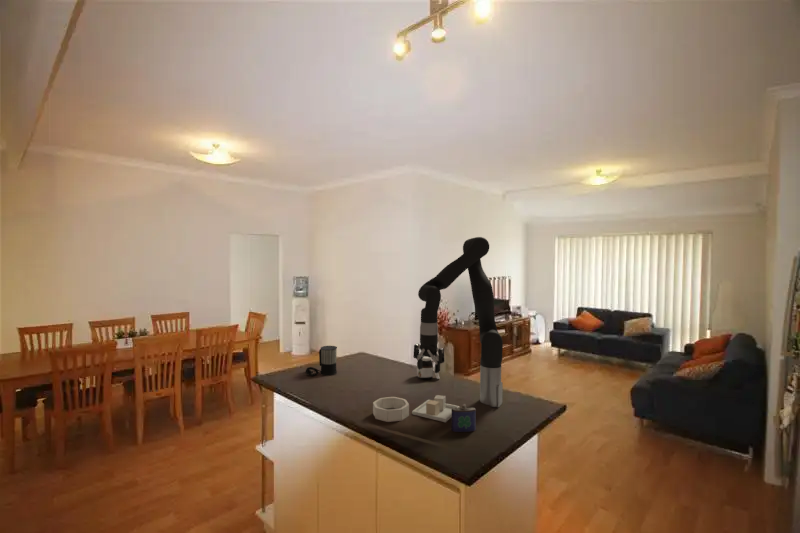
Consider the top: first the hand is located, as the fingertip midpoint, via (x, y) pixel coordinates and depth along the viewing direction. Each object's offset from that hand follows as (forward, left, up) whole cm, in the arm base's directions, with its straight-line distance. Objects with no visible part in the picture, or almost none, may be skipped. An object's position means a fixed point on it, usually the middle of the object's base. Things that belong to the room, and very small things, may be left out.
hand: (428, 370), depth 158 cm
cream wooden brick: (-4, +3, -17) cm, 17 cm away
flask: (-20, +10, -18) cm, 28 cm away
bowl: (+11, +12, -18) cm, 24 cm away
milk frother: (+75, -16, -18) cm, 79 cm away
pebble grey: (-4, -4, -17) cm, 18 cm away
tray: (-4, 0, -18) cm, 18 cm away
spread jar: (+20, -41, -18) cm, 49 cm away
